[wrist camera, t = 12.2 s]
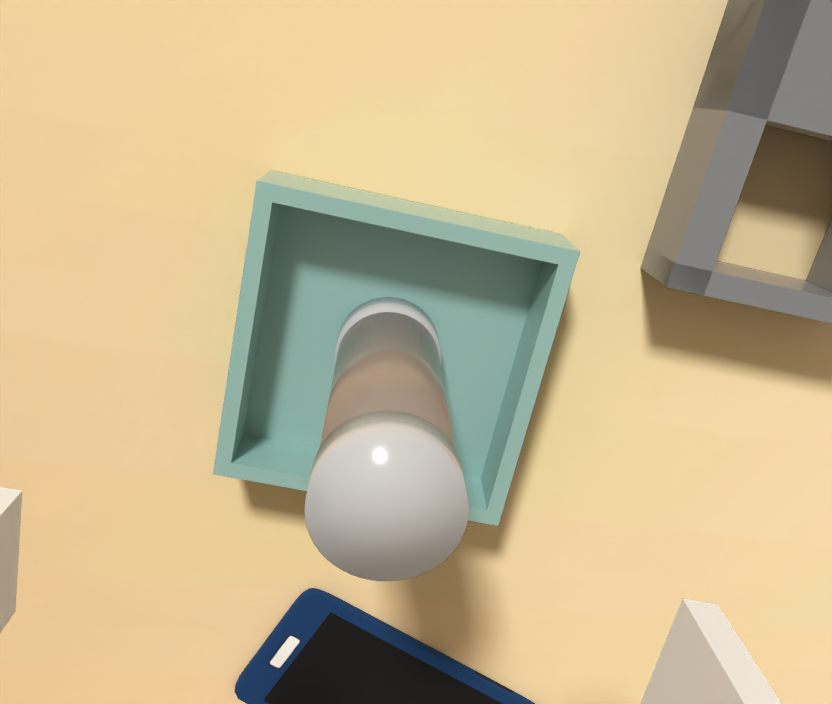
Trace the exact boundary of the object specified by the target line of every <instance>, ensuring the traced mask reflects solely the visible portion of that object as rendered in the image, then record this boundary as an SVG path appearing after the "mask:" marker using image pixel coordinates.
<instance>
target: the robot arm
mask: <svg viewBox="0 0 832 704" xmlns="http://www.w3.org/2000/svg"><path fill="white" fill-rule="evenodd" d="M21 502H22V491H20V490H14V489H8V488H2V487H0V633H1V631H2V630H3V628H4V627H5V625H6V624H7V623H8V621H9V620H10V618H11V617H12V615H13V614H14V612H15V608H16V590H17V573H18V555H19V537H20V520H21ZM641 704H781V702H780V701H779V699H778V697H777V696H776V694H775V693H774V691H773V690H772V688H771V687H770V685H769V683H768V682H767V680H766V679H765V677H764V676H763V674H762V673H761V671H760V670H759V668H758V666H757V665H756V663H755V662H754V660H753V659H752V657H751V656H750V654H749V652H748V651H747V649H746V648H745V646H744V645H743V643H742V642H741V640H740V639H739V637H738V635H737V634H736V632H735V631H734V629H733V628H732V626H731V625H730V623H729V622H728V620H727V618H726V617H725V615H724V614H723V612H722V611H721V609H720V608H719V606H718V604H713V603H706V602H700V601H694V600H688V599H682V602H681V604H680V607H679V609H678V612H677V614H676V617H675V619H674V622H673V624H672V626H671V629H670V631H669V634H668V636H667V639H666V641H665V644H664V646H663V649H662V651H661V654H660V656H659V659H658V661H657V663H656V666H655V668H654V671H653V673H652V676H651V678H650V681H649V683H648V686H647V688H646V691H645V693H644V696H643V698H642V701H641Z"/></svg>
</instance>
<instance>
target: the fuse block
mask: <svg viewBox="0 0 832 704" xmlns="http://www.w3.org/2000/svg"><path fill="white" fill-rule="evenodd" d="M765 125H767V126H771V127H775V128H779V129H784V130H788V131H792V132H796V133H800V134H804V135H808V136H812V137H817V138H821V139H825V140H829V141H832V1H830V0H729V1H728V4H727V7H726V10H725V13H724V16H723V19H722V22H721V25H720V28H719V31H718V34H717V37H716V40H715V43H714V46H713V49H712V52H711V55H710V58H709V61H708V65H707V68H706V71H705V74H704V77H703V80H702V83H701V86H700V89H699V92H698V95H697V98H696V101H695V104H694V107H693V110H692V113H691V116H690V119H689V122H688V125H687V129H686V132H685V135H684V138H683V141H682V144H681V147H680V150H679V153H678V156H677V159H676V162H675V165H674V168H673V171H672V174H671V177H670V180H669V183H668V186H667V189H666V192H665V196H664V199H663V202H662V205H661V208H660V211H659V214H658V217H657V220H656V223H655V226H654V229H653V232H652V235H651V238H650V241H649V244H648V247H647V250H646V253H645V256H644V259H643V263H642V266H641V268H642V269H643V270H644V271H645V272H647V273H648V274H649V275H651V276H652V277H653V278H655V279H656V280H657V281H659V282H660V283H661V284H663V285H664V286H665V287H666V288H671V289H676V290H680V291H685V292H689V293H694V294H699V295H703V296H708V297H712V298H717V299H722V300H726V301H731V302H735V303H740V304H745V305H749V306H754V307H758V308H763V309H768V310H772V311H777V312H781V313H786V314H791V315H795V316H800V317H804V318H809V319H814V320H818V321H823V322H827V323H832V219H831V221H830V224H829V226H828V228H827V231H826V233H825V236H824V238H823V241H822V243H821V246H820V248H819V251H818V253H817V256H816V258H815V261H814V263H813V265H812V268H811V270H810V273H809V275H808V278H807V280H806V281H805V280H800V279H796V278H791V277H787V276H782V275H778V274H773V273H769V272H764V271H760V270H755V269H751V268H746V267H742V266H737V265H733V264H728V263H724V262H719V261H716V260H717V258H718V255H719V252H720V249H721V247H722V244H723V241H724V238H725V236H726V233H727V230H728V227H729V224H730V222H731V219H732V216H733V213H734V211H735V208H736V205H737V202H738V200H739V197H740V194H741V191H742V188H743V186H744V183H745V180H746V177H747V175H748V172H749V169H750V166H751V164H752V161H753V158H754V155H755V153H756V150H757V147H758V144H759V141H760V139H761V136H762V133H763V130H764V128H765Z"/></svg>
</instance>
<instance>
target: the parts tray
mask: <svg viewBox="0 0 832 704" xmlns="http://www.w3.org/2000/svg"><path fill="white" fill-rule="evenodd" d="M579 253H580V251H579V250H578V249H577V248H576V247H575V246H574V245H572V244H571V243H570V242H569V241H568V240H567V239H566V238H565V237H564V236H563V235H562V234H557V233H553V232H548V231H544V230H539V229H534V228H530V227H525V226H521V225H516V224H512V223H507V222H503V221H498V220H494V219H489V218H485V217H480V216H476V215H471V214H467V213H462V212H458V211H453V210H449V209H444V208H440V207H435V206H431V205H426V204H422V203H417V202H413V201H408V200H403V199H399V198H394V197H390V196H385V195H381V194H376V193H372V192H367V191H363V190H358V189H354V188H349V187H345V186H340V185H336V184H331V183H327V182H322V181H318V180H313V179H309V178H304V177H300V176H295V175H291V174H286V173H282V172H277V171H270V172H269V173H267V174H266V175H264V176H263V177H261V178H260V179H258V180H257V183H256V190H255V197H254V203H253V210H252V217H251V223H250V230H249V237H248V243H247V250H246V257H245V264H244V270H243V277H242V284H241V290H240V297H239V304H238V310H237V317H236V324H235V330H234V337H233V344H232V351H231V357H230V364H229V371H228V377H227V384H226V391H225V397H224V404H223V411H222V417H221V424H220V431H219V438H218V444H217V451H216V458H215V464H214V471H213V474H215V475H221V476H226V477H231V478H237V479H242V480H248V481H253V482H259V483H264V484H270V485H275V486H281V487H286V488H292V489H297V490H303V491H307V489H308V484H309V479H310V474H311V469H312V465H313V461H314V458H315V455H316V453H317V451H318V449H319V447H320V443H321V437H322V432H323V427H324V422H325V416H326V411H327V406H328V400H329V395H330V390H331V385H332V379H333V374H334V369H335V360H334V356H335V349H336V344H337V339H338V335H339V331H340V328H341V326H342V324H343V322H344V320H345V319H346V317H347V316H348V315H349V314H350V313H351V312H352V311H353V310H354V309H355V308H356V307H358V306H359V305H361V304H363V303H365V302H367V301H369V300H372V299H376V298H382V297H395V298H400V299H404V300H407V301H409V302H412V303H413V304H415V305H417V306H418V307H420V308H421V309H422V310H423V311H424V312H425V313H426V314H427V315H428V316H429V317H430V319H431V320H432V322H433V323H434V325H435V328H436V330H437V334H438V338H439V343H440V349H441V357H442V361H441V370H442V376H443V382H444V388H445V393H446V399H447V405H448V411H449V416H450V422H451V428H452V434H453V440H454V445H455V448H456V450H457V452H458V455H459V457H460V461H461V464H462V469H463V475H464V480H465V485H466V491H467V496H468V504H469V516H468V521H473V522H479V523H484V524H490V525H495V526H498V525H499V521H500V518H501V515H502V511H503V508H504V504H505V501H506V498H507V494H508V491H509V488H510V484H511V481H512V478H513V474H514V471H515V468H516V464H517V461H518V458H519V454H520V451H521V448H522V444H523V441H524V438H525V434H526V431H527V427H528V424H529V421H530V417H531V414H532V411H533V407H534V404H535V401H536V397H537V394H538V391H539V387H540V384H541V381H542V377H543V374H544V371H545V367H546V364H547V361H548V357H549V354H550V351H551V347H552V344H553V340H554V337H555V334H556V330H557V327H558V324H559V320H560V317H561V314H562V310H563V307H564V304H565V300H566V297H567V294H568V290H569V287H570V284H571V280H572V277H573V274H574V270H575V267H576V263H577V260H578V257H579Z"/></svg>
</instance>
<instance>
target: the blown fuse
mask: <svg viewBox="0 0 832 704" xmlns="http://www.w3.org/2000/svg"><path fill="white" fill-rule="evenodd" d="M334 360H335V369H334V374H333V379H332V385H331V390H330V395H329V400H328V406H327V411H326V416H325V422H324V427H323V432H322V437H321V443H320V447H319V449H318V451H317V453H316V455H315V458H314V461H313V465H312V469H311V474H310V479H309V484H308V489H307V494H306V500H305V508H304V509H305V521H306V526H307V529H308V532H309V535H310V537H311V539H312V541H313V543H314V545H315V546H316V547H317V549H318V550H319V552H320V553H321V554H322V555H323V556H324V557H325V558H326V559H327V560H328V561H330V562H331V563H332V564H333V565H335V566H336V567H338V568H339V569H341V570H343V571H345V572H347V573H349V574H351V575H354V576H357V577H360V578H364V579H368V580H375V581H397V580H404V579H408V578H413V577H415V576H418V575H421V574H423V573H425V572H428V571H430V570H431V569H433V568H435V567H436V566H438V565H439V564H441V563H442V562H443V561H444V560H445V559H447V558H448V557H449V555H450V554H451V553H452V552H453V551H454V550H455V548H456V547H457V546H458V544H459V543H460V541H461V539H462V537H463V535H464V532H465V530H466V527H467V522H468V516H469V504H468V496H467V491H466V485H465V480H464V475H463V469H462V464H461V461H460V457H459V455H458V452H457V450H456V448H455V445H454V440H453V434H452V428H451V422H450V416H449V411H448V405H447V399H446V393H445V388H444V382H443V376H442V370H441V361H442V357H441V349H440V343H439V338H438V334H437V330H436V328H435V325H434V323H433V322H432V320H431V319H430V317H429V316H428V315H427V314H426V313H425V312H424V311H423V310H422V309H421V308H420V307H418V306H417V305H415V304H413V303H412V302H409V301H407V300H404V299H400V298H395V297H382V298H376V299H372V300H369V301H367V302H365V303H363V304H361V305H359V306H358V307H356V308H355V309H354V310H353V311H352V312H351V313H350V314H349V315H348V316H347V317H346V319H345V320H344V322H343V324H342V326H341V328H340V331H339V335H338V339H337V344H336V349H335V356H334Z"/></svg>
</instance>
